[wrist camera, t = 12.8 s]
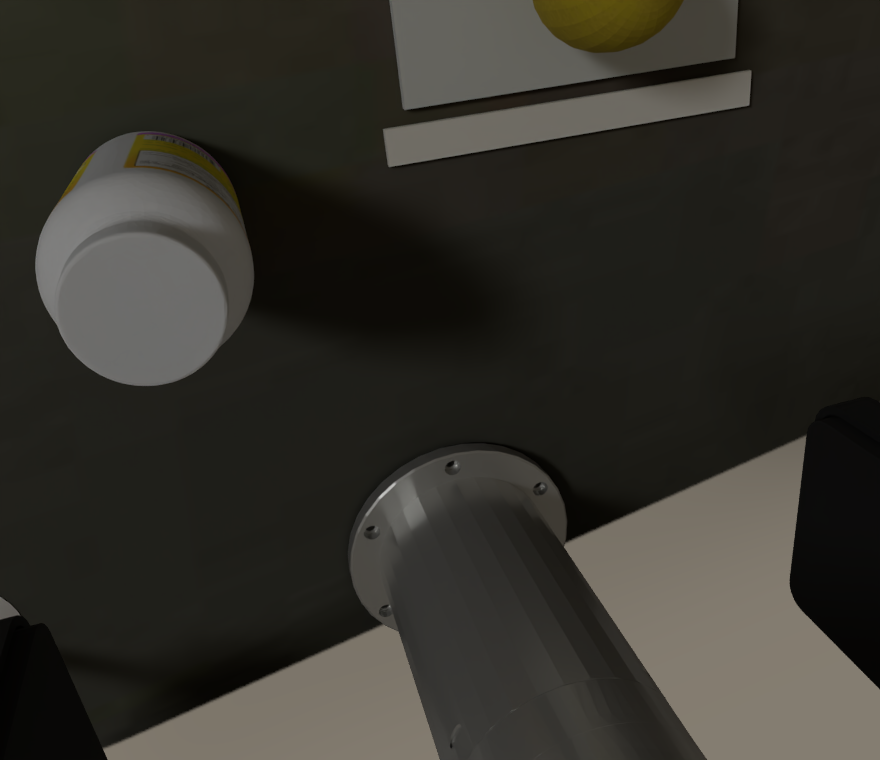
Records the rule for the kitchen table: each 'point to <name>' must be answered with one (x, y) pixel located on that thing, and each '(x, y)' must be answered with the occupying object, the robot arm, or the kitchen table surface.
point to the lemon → (605, 21)
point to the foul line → (565, 118)
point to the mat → (533, 48)
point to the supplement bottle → (146, 260)
